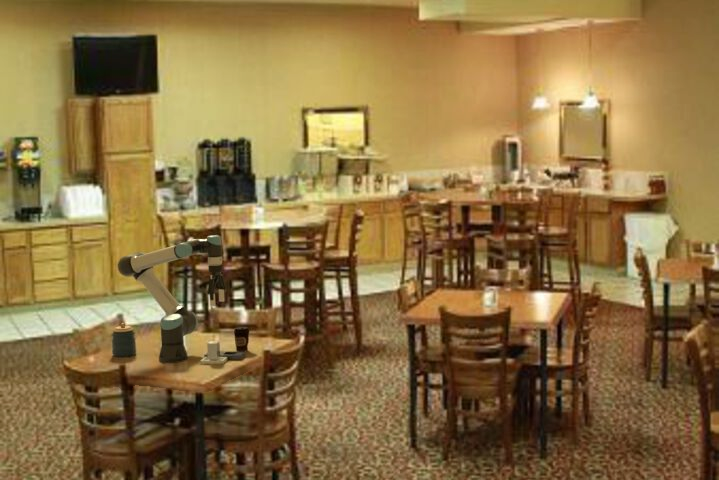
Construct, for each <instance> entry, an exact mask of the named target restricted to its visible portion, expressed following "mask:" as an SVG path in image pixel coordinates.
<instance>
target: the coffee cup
mask: <svg viewBox="0 0 719 480" xmlns="http://www.w3.org/2000/svg"><path fill="white" fill-rule="evenodd" d="M233 334H234V343H235V348H236V351H244V352H245V353H246V352H249V348H248V346H249V340H250V339H249V335H250V329H249V327H248V326H240V327H235V328H234V330H233Z"/></svg>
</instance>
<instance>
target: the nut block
mask: <svg viewBox="0 0 719 480" xmlns="http://www.w3.org/2000/svg"><path fill="white" fill-rule="evenodd" d="M206 344H207V345H206V346H207V353H208V361H220V351H221V349H220V348H221V347H220V345H221V344H220V341H217V340H216V341H214V340H212V341H211V340H210V341H209V342H207V343H206Z"/></svg>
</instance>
